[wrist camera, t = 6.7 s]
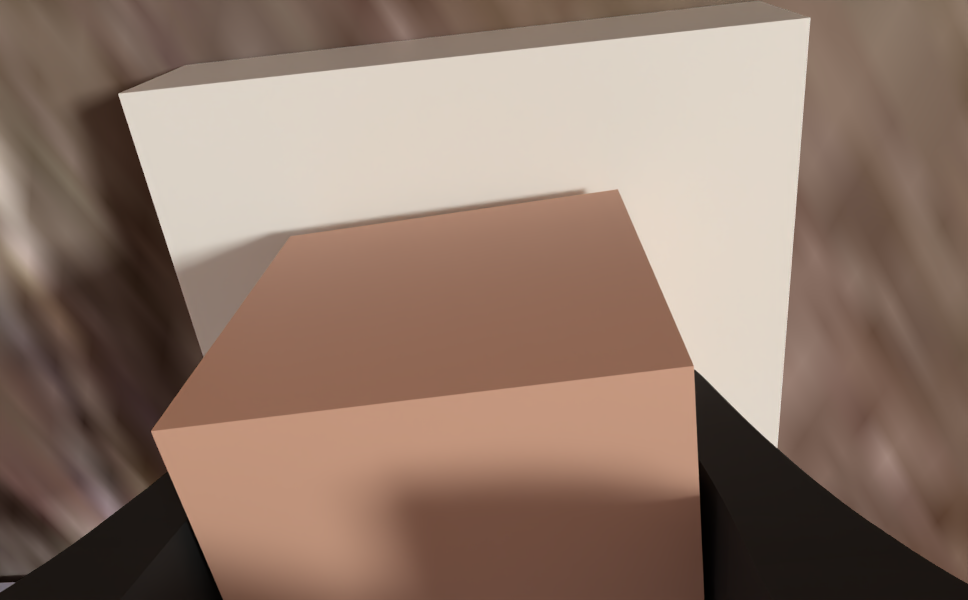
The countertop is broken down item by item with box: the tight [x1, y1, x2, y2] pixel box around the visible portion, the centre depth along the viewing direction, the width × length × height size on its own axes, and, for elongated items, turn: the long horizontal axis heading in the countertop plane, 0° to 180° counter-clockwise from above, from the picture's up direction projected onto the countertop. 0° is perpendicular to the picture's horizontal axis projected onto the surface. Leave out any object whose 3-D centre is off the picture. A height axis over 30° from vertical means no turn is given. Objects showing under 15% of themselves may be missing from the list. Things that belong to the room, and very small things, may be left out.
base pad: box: [118, 1, 810, 448], centre depth 14 cm, size 10×10×2 cm
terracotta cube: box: [151, 189, 704, 600], centre depth 10 cm, size 5×5×5 cm
